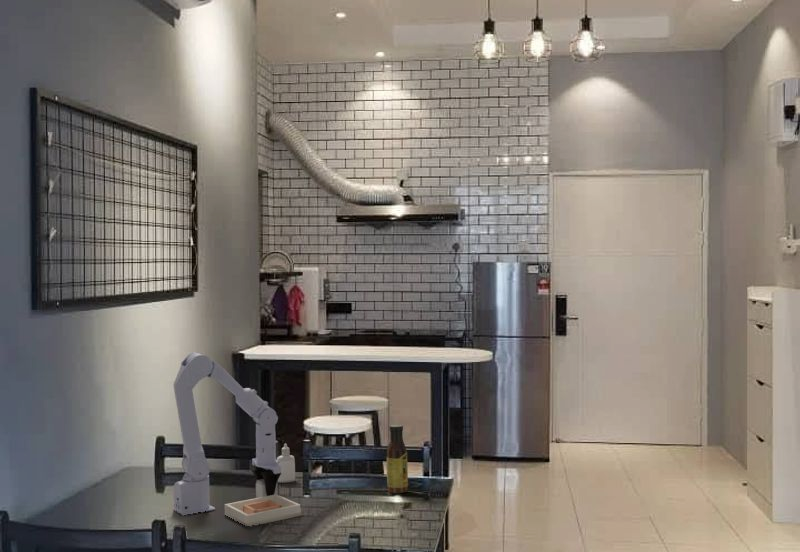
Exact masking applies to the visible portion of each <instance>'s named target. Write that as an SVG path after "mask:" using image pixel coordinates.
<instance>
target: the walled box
mask: <svg viewBox="0 0 800 552" xmlns="http://www.w3.org/2000/svg"><path fill="white" fill-rule="evenodd" d="M301 512H302V511H301V504H300V503H297V502H295V501H293V500H290V499H288V498H286V497H284V496H281V495H280V494H278V495H277V494H275V495H270V496H265V497H260V498H256V497H255V498H250V499H245V500H239V501H234V502H230V503H224V516H225V515H226V516H225V517H227V516H228V517H227V518H229V517H230V518H229V519H231V518H232V519H231V520H233V519H234V521H235V522H237V521H238V522H239V523H238V522H237V523H238V524H240V523H241V524H240V525H242V524H243V525H242V526H244V525H245V526H244V527H246V526H250V527H253V526H252V525H255V526H258V525H259V524H260V525H263V524H268V523H269V524H270V523H272V522H276V521H282V520H287V519H292V518H297V517H301Z"/></svg>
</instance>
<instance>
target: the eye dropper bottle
mask: <svg viewBox="0 0 800 552" xmlns="http://www.w3.org/2000/svg"><path fill="white" fill-rule="evenodd" d="M276 460H279V461H280V463H278V465H279V466H281V475H280V477H279V479H278V481H277V483H279V484H280V483H282V484H284V483H285V484H286V483H293V482H295V481H296V461H295V460H296V459H295V456H294V455H291V454H290V447H288V444H287V443H284V444H283V447H282V448H281V455H279V456H278V457H276Z"/></svg>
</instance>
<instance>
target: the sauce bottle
mask: <svg viewBox="0 0 800 552" xmlns="http://www.w3.org/2000/svg"><path fill="white" fill-rule="evenodd" d="M403 431H404V425H402V424H391V425H389V433H390V434H389V435H390V438H389V439H390V441H389V443H388V445H387V447H386V482H387V483H386V487H387V492H388V493H389V494H395V495H396V494H404V493H406V492H408V486H409V484H408V483H409V481H408V480H409V478H408V476H409V475H408V451H407V448H406V444H405V442H404V437H403V434H404V432H403Z"/></svg>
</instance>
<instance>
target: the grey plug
mask: <svg viewBox="0 0 800 552" xmlns="http://www.w3.org/2000/svg"><path fill="white" fill-rule="evenodd" d="M278 490H279V489H278V483H277V484H276V489H275V493H274V495H275V494H277V495H279V494H278V492H279V491H278ZM265 496H267V494H266V489H265V482H264V479H260V480H257V481H256V482H255V498H260V497H265Z"/></svg>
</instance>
